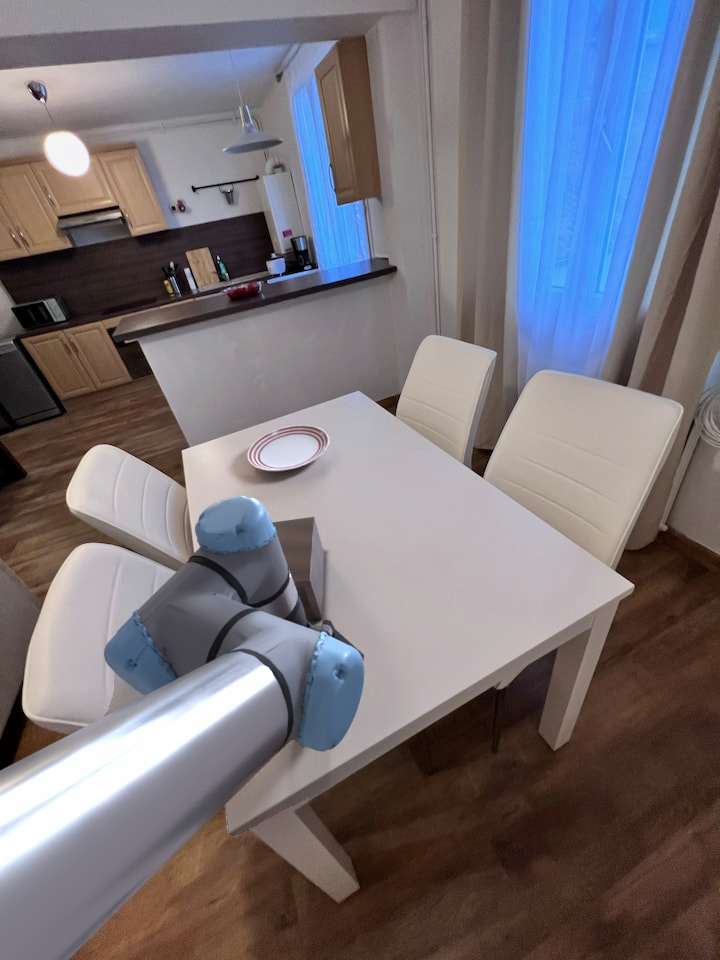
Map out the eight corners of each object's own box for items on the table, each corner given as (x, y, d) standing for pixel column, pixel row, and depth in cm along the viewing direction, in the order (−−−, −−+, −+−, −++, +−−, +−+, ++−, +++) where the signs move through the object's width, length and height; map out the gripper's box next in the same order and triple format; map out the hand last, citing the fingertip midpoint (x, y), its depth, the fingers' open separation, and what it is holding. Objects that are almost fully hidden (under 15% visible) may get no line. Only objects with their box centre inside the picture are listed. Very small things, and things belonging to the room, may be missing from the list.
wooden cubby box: (322, 618, 80) (310, 580, 73) (243, 628, 81) (224, 591, 74) (324, 553, 95) (314, 516, 88) (257, 562, 95) (242, 526, 89)
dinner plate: (337, 464, 125) (335, 455, 123) (250, 486, 122) (246, 477, 120) (323, 426, 147) (322, 418, 145) (249, 443, 144) (246, 435, 142)
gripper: (370, 580, 51) (387, 667, 64) (192, 579, 56) (240, 661, 68) (363, 633, 45) (383, 718, 58) (165, 628, 50) (223, 707, 62)
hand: (306, 687), depth 63 cm, fingers open, 13 cm apart
